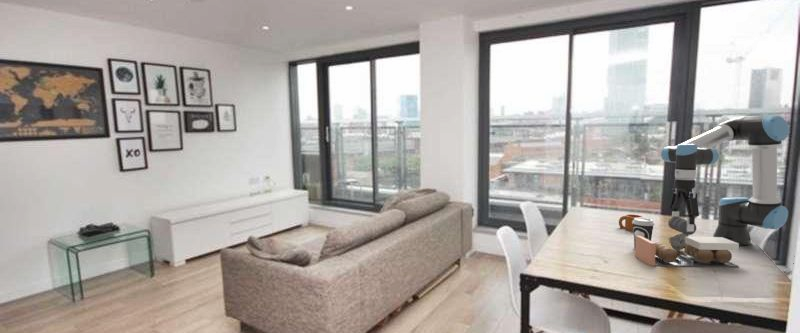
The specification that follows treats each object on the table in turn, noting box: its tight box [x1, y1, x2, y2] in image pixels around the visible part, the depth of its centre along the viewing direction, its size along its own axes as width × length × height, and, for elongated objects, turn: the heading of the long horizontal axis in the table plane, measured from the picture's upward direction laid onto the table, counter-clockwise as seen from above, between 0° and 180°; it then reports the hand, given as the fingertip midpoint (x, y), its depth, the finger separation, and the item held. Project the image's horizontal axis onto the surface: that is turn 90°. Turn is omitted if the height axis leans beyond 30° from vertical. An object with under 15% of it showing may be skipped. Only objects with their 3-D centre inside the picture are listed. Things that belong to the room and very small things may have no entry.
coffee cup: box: [632, 217, 655, 249], centre depth 196 cm, size 10×10×15 cm
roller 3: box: [683, 244, 714, 263], centre depth 177 cm, size 10×6×6 cm, turn 175°
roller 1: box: [655, 242, 678, 262], centre depth 178 cm, size 10×6×6 cm, turn 175°
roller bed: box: [654, 254, 739, 268], centre depth 178 cm, size 34×14×2 cm, turn 85°
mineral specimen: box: [668, 233, 690, 252], centre depth 192 cm, size 10×8×10 cm
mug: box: [618, 213, 644, 232], centre depth 231 cm, size 9×12×9 cm
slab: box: [685, 236, 740, 251], centre depth 176 cm, size 16×10×3 cm, turn 85°
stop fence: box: [634, 235, 657, 267], centre depth 179 cm, size 2×13×10 cm, turn 175°
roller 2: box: [667, 216, 697, 236], centre depth 176 cm, size 10×6×6 cm, turn 175°
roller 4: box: [710, 250, 733, 263], centre depth 176 cm, size 10×6×6 cm, turn 175°
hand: (682, 228), depth 177 cm, fingers closed on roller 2, 10 cm apart
